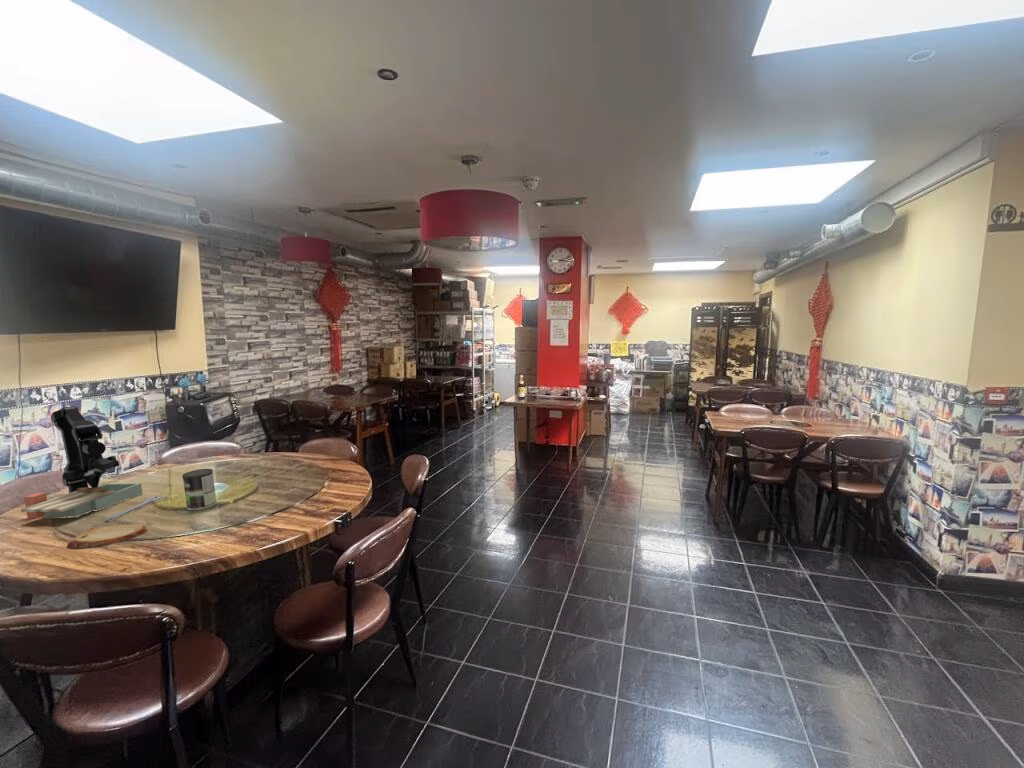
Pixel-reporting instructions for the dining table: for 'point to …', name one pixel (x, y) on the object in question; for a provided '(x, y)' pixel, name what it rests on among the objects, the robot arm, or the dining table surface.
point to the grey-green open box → (102, 499)
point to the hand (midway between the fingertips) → (95, 488)
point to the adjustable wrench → (136, 507)
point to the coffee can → (199, 489)
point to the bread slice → (106, 536)
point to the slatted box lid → (69, 500)
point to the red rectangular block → (35, 500)
